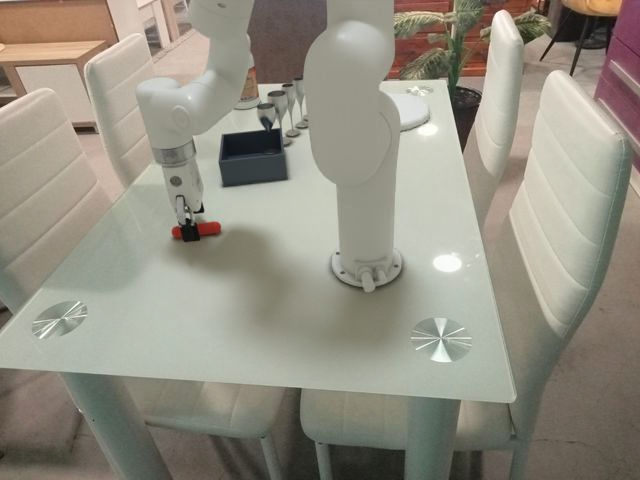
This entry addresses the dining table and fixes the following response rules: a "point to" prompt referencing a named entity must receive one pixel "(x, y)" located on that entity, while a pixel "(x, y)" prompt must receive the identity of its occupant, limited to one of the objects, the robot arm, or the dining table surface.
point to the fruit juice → (249, 86)
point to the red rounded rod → (200, 229)
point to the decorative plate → (410, 110)
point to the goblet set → (282, 108)
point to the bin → (252, 157)
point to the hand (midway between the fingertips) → (194, 226)
